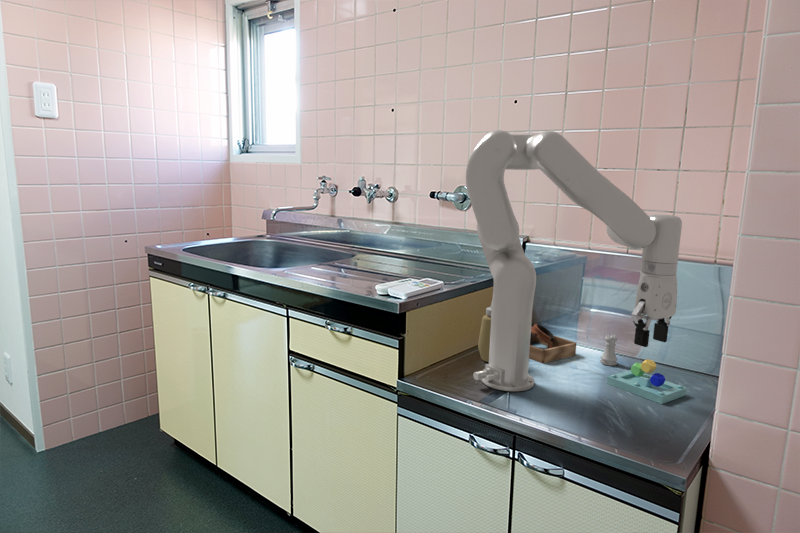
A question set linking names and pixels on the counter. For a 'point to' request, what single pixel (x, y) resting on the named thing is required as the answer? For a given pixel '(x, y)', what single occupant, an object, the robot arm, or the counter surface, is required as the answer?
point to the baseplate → (647, 388)
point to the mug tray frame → (552, 350)
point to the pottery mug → (542, 335)
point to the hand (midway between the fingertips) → (650, 342)
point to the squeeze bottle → (485, 335)
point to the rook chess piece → (609, 351)
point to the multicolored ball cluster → (646, 380)
